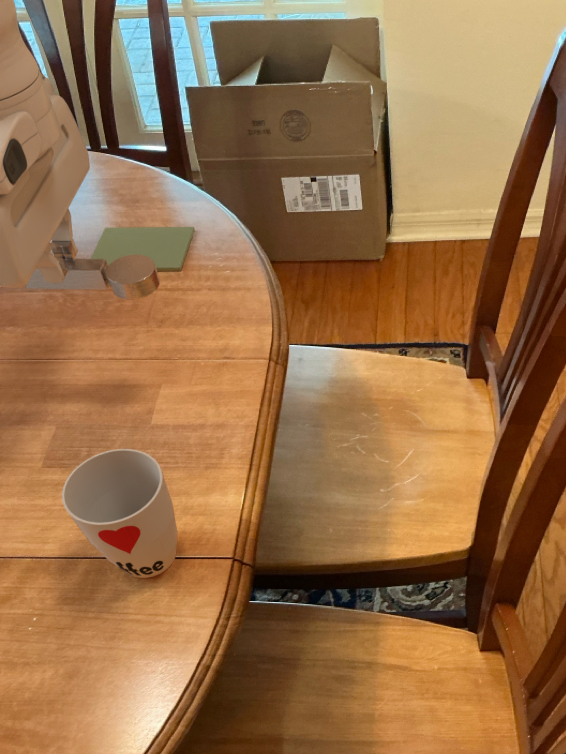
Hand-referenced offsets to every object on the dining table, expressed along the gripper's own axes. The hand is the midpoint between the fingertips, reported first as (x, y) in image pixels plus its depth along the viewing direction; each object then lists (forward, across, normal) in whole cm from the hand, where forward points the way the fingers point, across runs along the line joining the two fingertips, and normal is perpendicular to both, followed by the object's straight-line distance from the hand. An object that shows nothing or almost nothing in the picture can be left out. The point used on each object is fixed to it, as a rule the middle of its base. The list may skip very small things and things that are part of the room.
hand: (62, 268), depth 73 cm
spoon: (+2, 0, +3) cm, 3 cm away
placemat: (+15, -25, -3) cm, 29 cm away
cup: (+15, +23, +10) cm, 29 cm away
